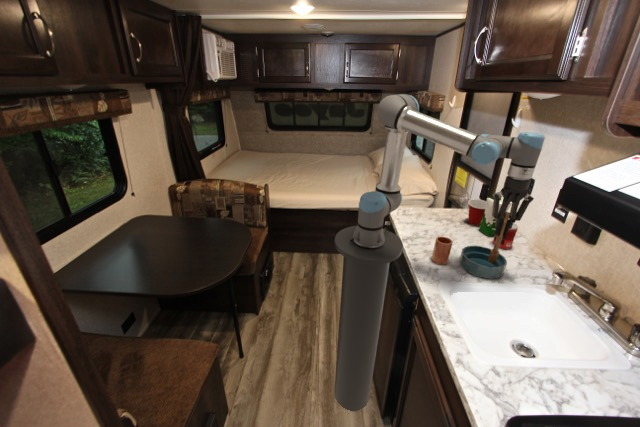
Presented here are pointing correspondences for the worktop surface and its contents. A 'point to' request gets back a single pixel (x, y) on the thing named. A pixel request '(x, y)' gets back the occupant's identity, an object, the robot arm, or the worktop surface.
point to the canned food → (507, 238)
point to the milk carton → (490, 217)
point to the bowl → (481, 262)
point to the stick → (498, 241)
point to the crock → (442, 250)
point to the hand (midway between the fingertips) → (500, 234)
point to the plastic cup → (476, 211)
